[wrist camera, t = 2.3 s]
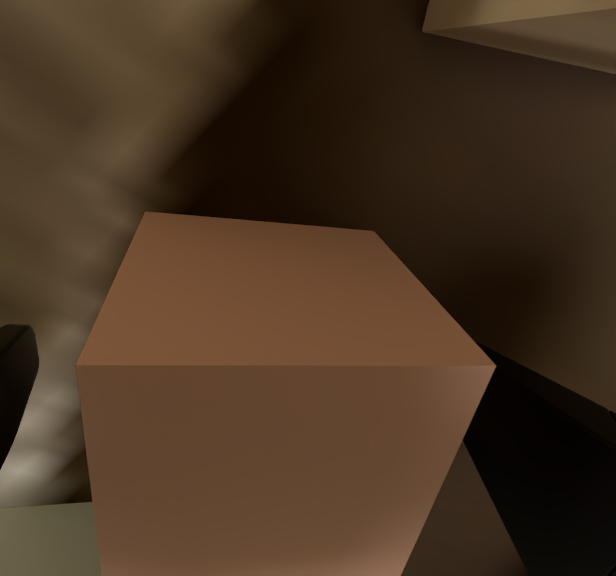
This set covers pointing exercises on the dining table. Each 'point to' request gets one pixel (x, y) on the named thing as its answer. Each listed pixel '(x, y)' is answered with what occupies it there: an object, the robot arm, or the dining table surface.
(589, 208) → the dining table surface
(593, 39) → the birch block
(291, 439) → the terracotta block
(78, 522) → the sage block
